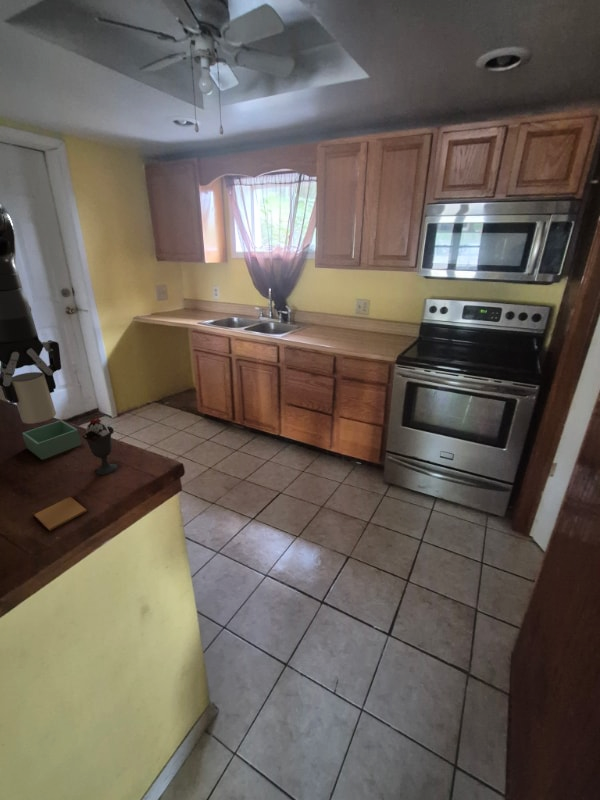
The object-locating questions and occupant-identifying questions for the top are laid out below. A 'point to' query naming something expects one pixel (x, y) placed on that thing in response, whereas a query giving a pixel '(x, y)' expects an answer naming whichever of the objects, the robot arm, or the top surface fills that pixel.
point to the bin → (51, 439)
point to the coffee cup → (33, 397)
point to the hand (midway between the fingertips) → (32, 396)
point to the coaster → (60, 513)
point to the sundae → (100, 443)
